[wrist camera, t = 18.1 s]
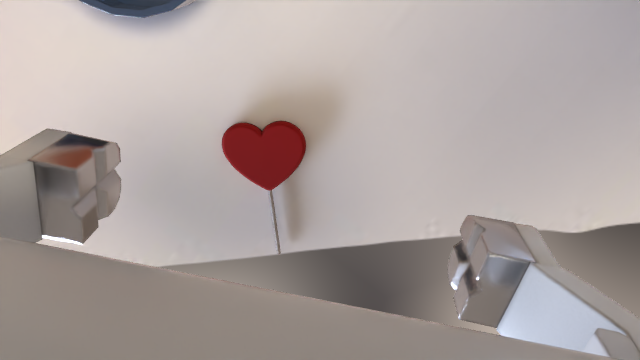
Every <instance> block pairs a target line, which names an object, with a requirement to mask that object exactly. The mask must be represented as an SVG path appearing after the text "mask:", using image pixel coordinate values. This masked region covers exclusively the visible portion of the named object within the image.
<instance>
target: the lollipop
mask: <svg viewBox="0 0 640 360" xmlns="http://www.w3.org/2000/svg"><path fill="white" fill-rule="evenodd" d="M222 148H223V152H224V154H225V156H226V158H227V159H228V161H229V162H230V163H231V165H232V166H233V167H234V168H235V169H236V170H237V171H238V172H240V173H241V174H242V175H243V176H245V177H246V178H247V179H249V180H250V181H252V182H254V183H255V184H257V185H259V186H261V187H262V188H264V189H266V190H268V192H269V199H270V206H271V213H272V219H273V226H274V233H275V240H276V247H277V254H280V253H281V252H280V245H279V238H278V230H277V223H276V216H275V209H274V202H273V195H272V189H274V188H275V187H277V186H278V185H280V184H281V183H282V182H283V181H285V180H286V179H287V178H288V177H289V176H290V175H291V174H292V173H293V172H294V171H295V170H296V169H297V167H298V166H299V164H300V163H301V161H302V159H303V156H304V154H305V150H306V142H305V138H304V135H303V133H302V132H301V130H300V129H299V128H298V127H297V126H295V125H294V124H292V123H289V122H286V121H276V122H273V123H270V124H269V125H267V126H266V127H265V128H264V129H263V131H261V130H260V129H259V128H258V127H256V126H255V125H252V124H249V123H238V124H234V125H232V126H231V127H230V128H228V129H227V130H226V132H225V133H224V135H223V138H222Z"/></svg>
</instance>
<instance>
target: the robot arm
mask: <svg viewBox="0 0 640 360" xmlns="http://www.w3.org/2000/svg"><path fill="white" fill-rule="evenodd" d="M120 162H121V158H120V148H119V146H118V145H117V143H115V142H110V141H106V140H101V139H97V138H92V137H88V136H83V135H79V134H73V133H72V132H66V131H60V130H54V129H45V130H43V131H42V132H40V133H38V134H37V135H35V136H33V137H31V138H30V139H28V140H26V141H24V142H23V143H21V144H19V145H18V146H16V147H14V148H12V149H11V150H9V151H7V152H5V153H4V154H2V155H0V360H640V318H639V317H637V316H636V315H634V314H633V313H631V312H630V311H628V310H627V309H625V308H624V307H622V306H621V305H619V304H618V303H617V302H615V301H614V300H612V299H611V298H609V297H608V296H606V295H605V294H603V293H602V292H600V291H599V290H598V289H596V288H595V287H593V286H592V285H590V284H589V283H587V282H586V281H584V280H583V279H581V278H580V277H578V276H577V275H575V274H574V273H572V272H571V271H570V270H567V269H562V268H561V267H560V265H559V263H558V262H557V260H556V259H555V258H554V256H553V254H552V252H551V251H550V249H549V248H548V246H547V244H546V243H545V241H544V240H543V238H542V237H541V235H540V233H539V232H538V230H537V229H536V228H535V227H533V226H529V225H523V224H516V223H513V222H508V221H502V220H496V219H491V218H485V217H480V216H474V215H468V216H467V217H466V218H465V220H464V221H463V224H462V226H461V228H460V233H461V236H462V238H463V240H462V241H460V242H459V243H457V244H456V245H454V246H453V249H452V251H451V254H450V257H449V262H448V269H447V270H448V280H449V284H450V285H451V286H452V287H453V288H454V289H455V290H456V293H455V295H454V297H453V299H454V303H455V307H456V310H457V314H458V318H459V319H460V320H464V321H468V322H473V323H477V324H481V325H486V326H491V327H495V328H497V331H498V332H499V333H500V334H501V335H502V336H501V335H495V334H490V333H486V332H481V331H476V330H471V329H466V328H461V327H455V326H450V325H445V324H440V323H435V322H430V321H425V320H420V319H415V318H410V317H405V316H400V315H394V314H390V313H384V312H380V311H374V310H370V309H365V308H359V307H355V306H350V305H344V304H340V303H334V302H329V301H324V300H319V299H314V298H309V297H304V296H299V295H294V294H289V293H284V292H279V291H274V290H269V289H264V288H259V287H254V286H249V285H244V284H239V283H234V282H229V281H224V280H218V279H214V278H209V277H204V276H198V275H193V274H189V273H183V272H178V271H173V270H168V269H163V268H158V267H153V266H148V265H143V264H138V263H133V262H128V261H123V260H118V259H113V258H108V257H103V256H98V255H93V254H88V253H83V252H78V251H73V250H68V249H63V248H58V247H53V246H48V245H43V244H37V243H35V242H38V241H40V240H42V238H48V239H54V240H59V241H65V242H71V243H77V244H83V243H84V242H85V241H86V240H87V239H88V238H89V237H90V236H91V235H92V234H93V232H94V231H95V230H96V229H97V228H98V220H99V219H102V218H105V217H108V216H109V215H110V214H111V213H112V212H113V210H114V209H115V207H116V205H117V203H118V200H119V198H120V192H121V178H120V176H119V175H118V174H117V172H116V171H115V169H114V168H115V167H116V166H117V165H118V164H119V163H120Z"/></svg>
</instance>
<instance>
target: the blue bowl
mask: <svg viewBox="0 0 640 360" xmlns="http://www.w3.org/2000/svg"><path fill="white" fill-rule="evenodd" d="M80 1H81V2H83V3H85V4H88V5H90V6H92V7H95V8H97V9H99V10H102V11H104V12H106V13H109V14H111V15H117V16H127V17H137V18H145V17H149V16H153V15H157V14H161V13H165V12H169V11H172V10H175V9H178V8H181V7H183V6H186V5H189V4H191V3H193V2H194V1H196V0H80Z"/></svg>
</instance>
